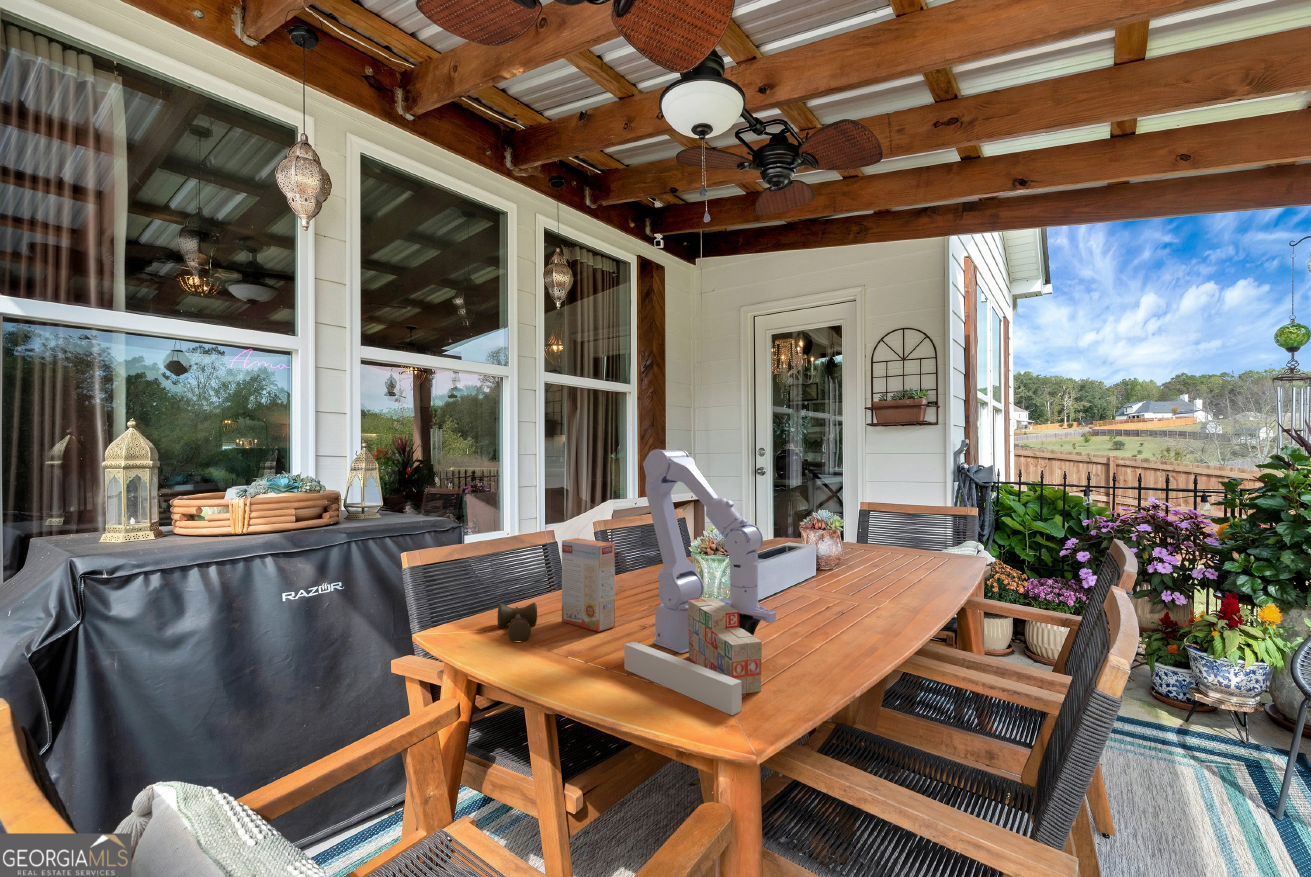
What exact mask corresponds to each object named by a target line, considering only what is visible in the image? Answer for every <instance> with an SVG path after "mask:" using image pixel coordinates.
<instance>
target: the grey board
mask: <svg viewBox="0 0 1311 877" xmlns="http://www.w3.org/2000/svg"><path fill="white" fill-rule="evenodd" d="M623 648H624V649H623V651H624V655H623V656H624V662H623V665H624V670H625V671H628V672H631V673H632V674H635V675H638V676H640V677H642V678H644V679H647V680H648V681H651V682H653V683H656V684H658V685H661V686H663V687H665V688H667V689H670V690H672V691H674V692H677V693H679V694H681V695H683V696H686V697H688V698H690V699H693V700H695V701H697V702H700V703H702V704H705V705H706V706H709V707H712V708H713V709H715V710H718V711H720V712H723V713H725V714H728V715H730V716H734V715H736V714H739V713H740V712H742V711H743V710H742V709H743V708H742V707H743V706H742V703H743V702H742V696H743V694H742V681H740V680H737V679H734V678H732V677H729V676H726V675H724V674H721V673H718V672H716V671H713V670H710V669H707V668H705V667H702V666H699V665H697V664H696V663H695V662H691V661H689V660H686V659H683V658H680V657H677V656H675V655H672V654H670V653H667V652H664V651H662V650H658V649H656V648H653V647H651V646H647V645H646V644H645V645H644V644H643V643H640V642H637V641H634V640H633V641H630V642H626V643H624V644H623Z"/></svg>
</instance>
